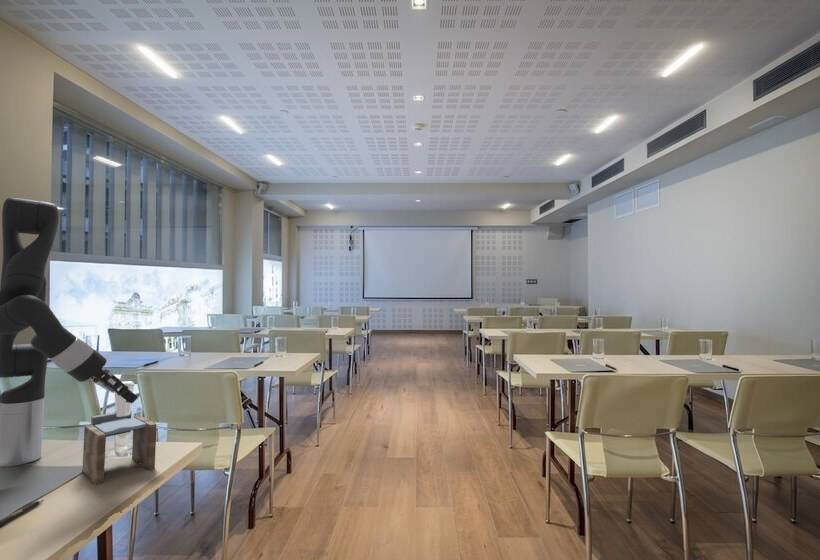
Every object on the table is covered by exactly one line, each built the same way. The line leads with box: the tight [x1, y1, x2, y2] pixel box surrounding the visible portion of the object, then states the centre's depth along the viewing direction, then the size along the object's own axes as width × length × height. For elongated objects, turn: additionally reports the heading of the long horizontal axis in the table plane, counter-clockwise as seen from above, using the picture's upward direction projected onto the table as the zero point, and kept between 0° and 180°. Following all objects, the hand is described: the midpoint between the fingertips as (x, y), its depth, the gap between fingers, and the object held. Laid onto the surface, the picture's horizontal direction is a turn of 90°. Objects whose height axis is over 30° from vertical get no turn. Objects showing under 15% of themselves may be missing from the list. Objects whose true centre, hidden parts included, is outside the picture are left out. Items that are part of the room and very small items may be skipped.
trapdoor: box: [90, 411, 146, 438], centre depth 111 cm, size 13×9×6 cm
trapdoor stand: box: [81, 415, 157, 485], centre depth 109 cm, size 13×13×12 cm
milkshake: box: [113, 376, 135, 417], centre depth 109 cm, size 4×5×10 cm
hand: (131, 398), depth 111 cm, fingers closed on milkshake, 4 cm apart
